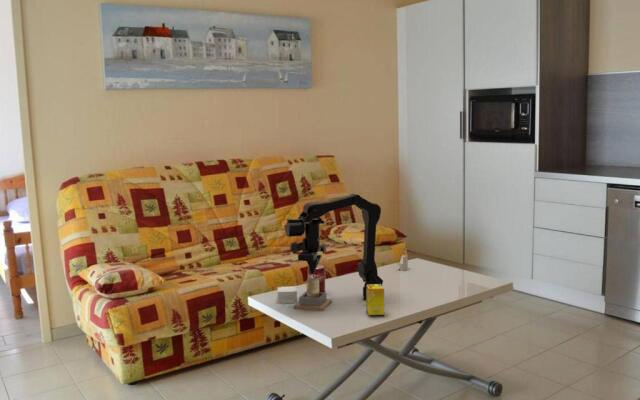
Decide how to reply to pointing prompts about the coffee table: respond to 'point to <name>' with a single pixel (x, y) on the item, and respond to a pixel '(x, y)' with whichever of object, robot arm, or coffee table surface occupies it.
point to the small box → (287, 294)
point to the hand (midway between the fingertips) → (312, 273)
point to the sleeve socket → (313, 302)
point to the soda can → (318, 277)
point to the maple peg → (313, 288)
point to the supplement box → (375, 300)
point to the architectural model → (403, 263)
